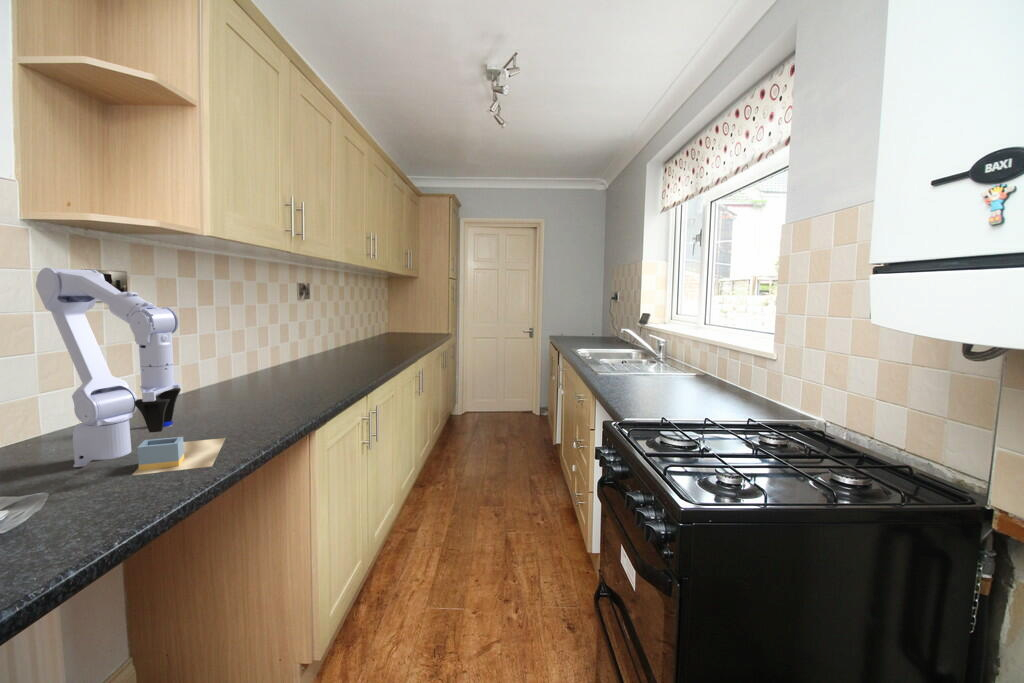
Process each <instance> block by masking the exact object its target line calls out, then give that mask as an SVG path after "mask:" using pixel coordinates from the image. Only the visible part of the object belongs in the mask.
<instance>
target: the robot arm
mask: <svg viewBox="0 0 1024 683" xmlns="http://www.w3.org/2000/svg"><path fill="white" fill-rule="evenodd" d="M105 278H106V277H105V275H104V274H103V273H101V272H99V271H98V270H96V269H95V268H93V269H91V268H89V269H79V268H78V269H76V268H75V269H74V268H72V269H71V268H52V267H43V268H42V269H41V270H40V271H39V273H38V274H37V276H36V282H35V288H36V290H37V293H38V295H39V297H40V299H41V300H40V301H42V304H43V306H44V309H45V310H47V311H49V312H51V316H52V318H53V320H54V322H55V324H56V327H57V328H58V331H59V333H60V336H61V339H62V340H63V342H64V345H65V347H66V350H67V352H68V355H69V356H70V358H71V360H72V364H73V366H74V367H75V370H76V372H77V374H78V376H79V379H80V382H81V385H80V386H79V387H77V388H76V390H75V391H74V392H73V394H72V395H71V399H72V401H73V405H74V409H73V410H74V415H75V416H76V419H78V421H80V422H81V423H77V424H76V425H75V426H74V428H73V431H72V432H73V433H72V448H73V459H74V464H73V468H81V467H82V468H84V467H85V466H87V465H88V464H89V463H90V462H91V461H102V460H103V461H106V460H111V459H117V458H121V457H125V456H127V455H129V454H130V453H132V442H131V441H132V437H131V428H130V427H131V425H130V419H132V418H133V417H134V416H133V414H134V413H136V411H137V409H138V411H139V412H140V413H141V415H142V417H143V419H144V423H145V425H146V428H147V430H148V432H149V434H150V433H161V432H162V431H163V428H164V427H163V425H164V422H171V421H172V419H173V416H174V411H175V407H176V402H177V399H178V396H179V394H180V393H181V391H182V390H181V387H182V382H176V381H175V366H174V351H173V350H174V349H173V348H174V347H173V334H174V333H175V332H176V331H177V329H178V327H179V319H178V315H177V314H176V312H175V311H174V310H172V309H171V308H170V307H169V306H168V307H167V306H166V307H157V306H156V305H155V304H154V303H153V302H151V301H148V300H145V299H143V298H142V297H140V296H139V293H137V292H136V291H121V290H119V289H118V288H116V287H115V286H114V285H112V284H110V282H109V281H106V279H105ZM98 301H99V302H102V303H104V304H106V305H108V309H109V311H110V312H111V314H112V315H114V316H116V317H118V318H119V319H120V320H122V321H123V322H125V323H127V324H129V327H130V329H131V332H132V333H133V336H134V341H135V343H136V345H138V352H139V353H138V354H139V369H140V384H141V385H140V387H139V388H140V391H141V397H142V398H138V396H137V394H136V393H135V392H134V391H133V389H131V388H130V385H129V384H128V382H127V381H126V380H124V379H121V378H119V377H116V376H113V375H112V373H111V370H110V368H109V366H108V363H107V361H106V359H105V357H104V355H103V352H102V349H101V348H100V346H99V343H98V342H97V339H96V336H95V334H94V331H93V329H92V328H91V325H90V322H89V321H88V318H87V316H86V312H87V311H89V310H92V309H93V308H94V307H95V305H96V303H97V302H98Z"/></svg>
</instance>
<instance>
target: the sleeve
mask: <svg viewBox="0 0 1024 683" xmlns="http://www.w3.org/2000/svg"><path fill="white" fill-rule="evenodd" d="M183 442H184V436H177V437H175V436H174V437H166V438H153V439H144V440H143V441H142V442H141V443H140V444H139V445H138V446H137V448H136V449H137V450H136V451H137V462H138V463H137V464H138V467H139V470H148V469H157V468H166V467H175V466H179V465H180V464H181V462H182V461H183V459H184V445H183Z"/></svg>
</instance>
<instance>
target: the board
mask: <svg viewBox="0 0 1024 683" xmlns="http://www.w3.org/2000/svg"><path fill="white" fill-rule="evenodd" d="M225 440H226V437H224V438H211V439H202V440H191V441H189V440H188V441H183V445H184V459H183V461H182V462H181V464H180V465H179V466H175V467H166V468H157V469H148V470H139V466H138V467H137V469H136V470H135V471H134V472H133V473H132V474H131V476H140V475H147V474H148V475H149V474H157V473H165V472H166V473H167V472H175V471H183V470H184V471H185V470H192V469H202V468H210V467H213V466H214V463H215V461H216V459H217V457H218V454H219V453H220V451H221V450H222V446H224V443H225Z"/></svg>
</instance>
